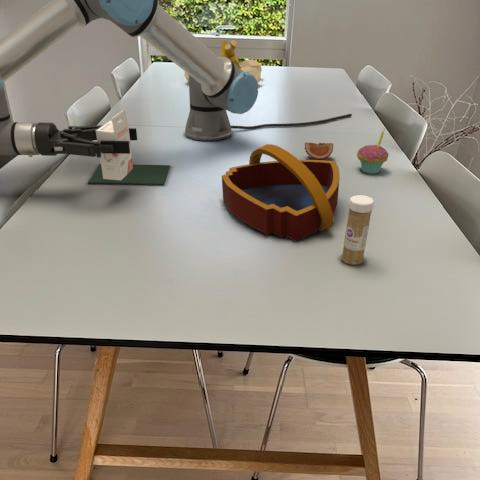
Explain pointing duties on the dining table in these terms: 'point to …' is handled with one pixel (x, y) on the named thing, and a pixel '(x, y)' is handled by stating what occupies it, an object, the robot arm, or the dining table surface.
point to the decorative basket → (283, 193)
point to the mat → (135, 176)
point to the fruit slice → (319, 150)
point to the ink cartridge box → (112, 162)
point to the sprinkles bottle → (357, 229)
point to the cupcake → (372, 157)
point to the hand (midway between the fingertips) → (132, 140)
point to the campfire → (246, 65)
